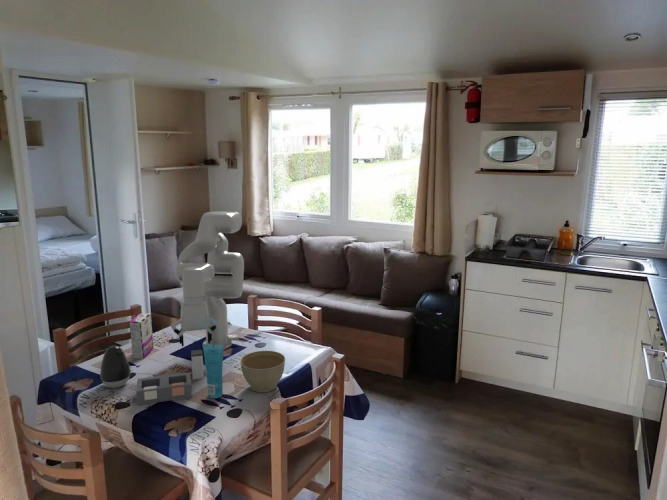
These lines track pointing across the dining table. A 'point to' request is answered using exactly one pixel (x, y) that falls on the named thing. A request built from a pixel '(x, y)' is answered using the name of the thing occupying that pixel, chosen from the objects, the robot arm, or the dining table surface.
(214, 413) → the dining table surface
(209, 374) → the tube
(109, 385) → the dark grey egg
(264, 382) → the planter bowl
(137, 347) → the candy bar box
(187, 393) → the socket box
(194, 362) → the plug
